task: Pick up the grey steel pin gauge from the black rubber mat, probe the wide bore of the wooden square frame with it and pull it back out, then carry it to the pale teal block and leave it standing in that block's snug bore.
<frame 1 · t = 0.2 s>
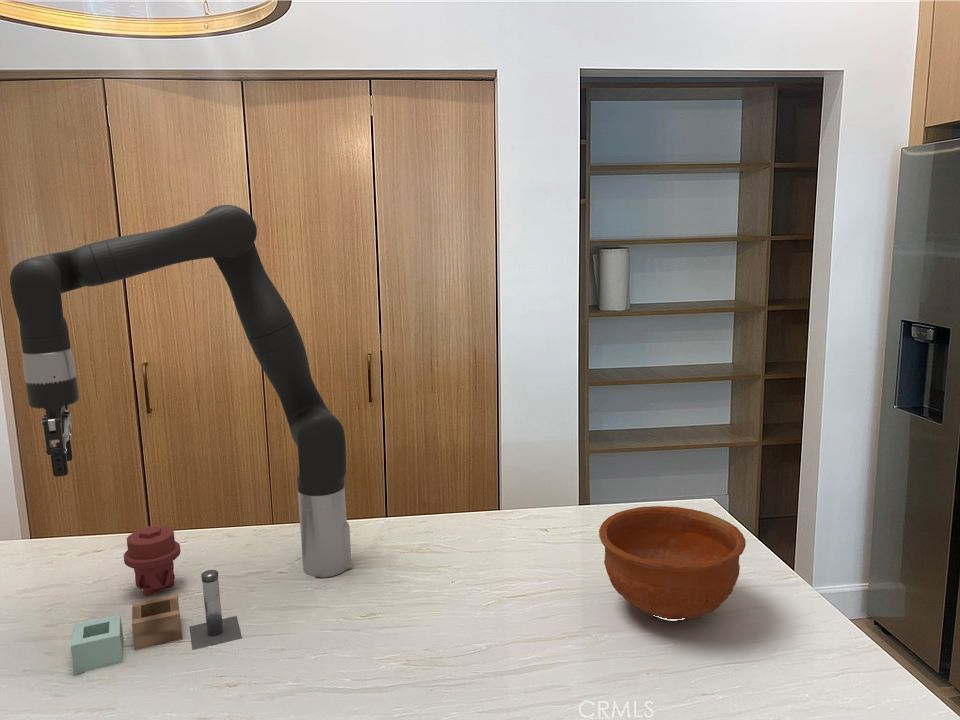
hand: (63, 467, 129), 29 cm above the counter, fingers open, 8 cm apart
teal block: (99, 657, 122), on the counter
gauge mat: (215, 633, 129), on the counter
bowl: (668, 610, 134), on the counter
wooden square frame: (158, 634, 129), on the counter
pin gauge: (215, 632, 129), resting on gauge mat
mechanical component: (156, 589, 145), on the counter
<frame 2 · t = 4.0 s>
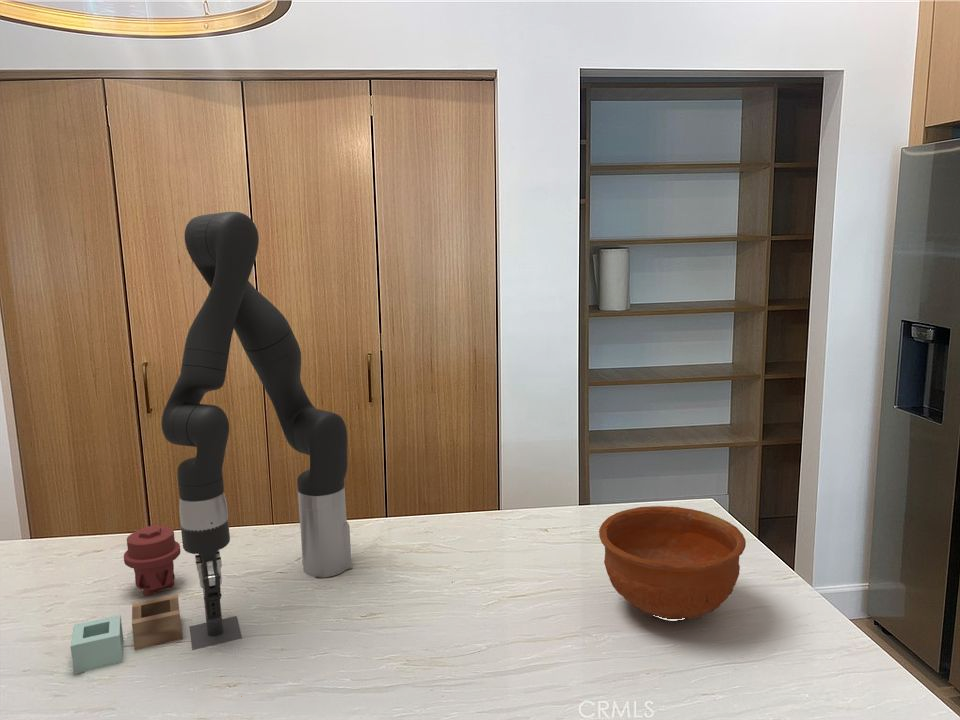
hand: (213, 613, 128), 4 cm above the counter, fingers closed on pin gauge, 2 cm apart
pin gauge: (215, 632, 129), resting on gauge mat, touching gripper
everything else where it was.
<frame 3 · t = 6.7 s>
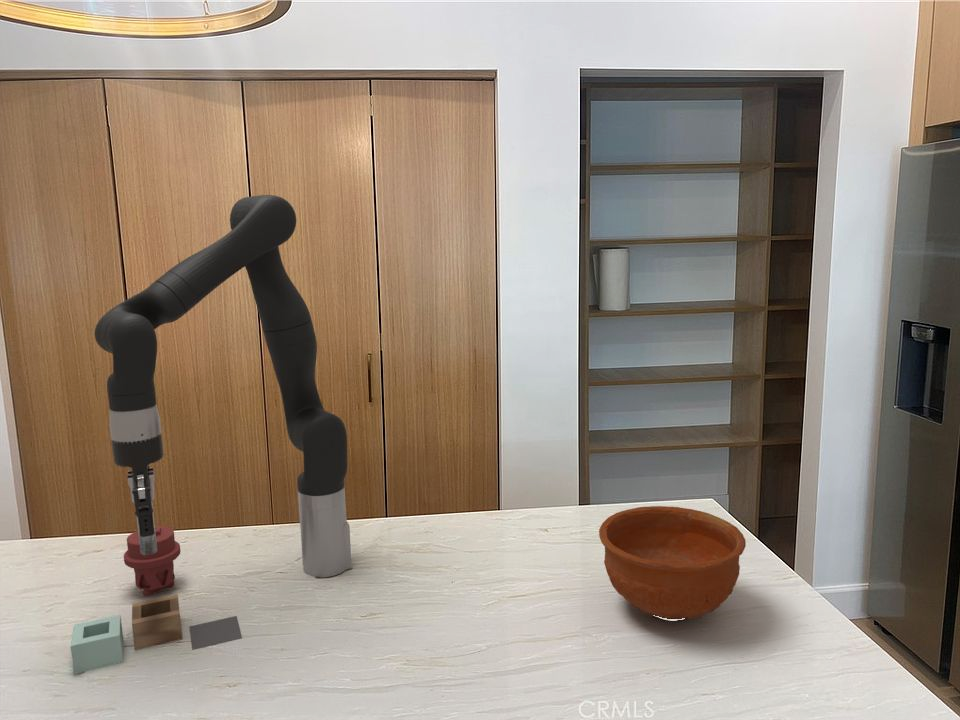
hand: (147, 531, 125), 19 cm above the counter, fingers closed on pin gauge, 2 cm apart
pin gauge: (149, 551, 126), point 16 cm above the counter, touching gripper
everything else where it was.
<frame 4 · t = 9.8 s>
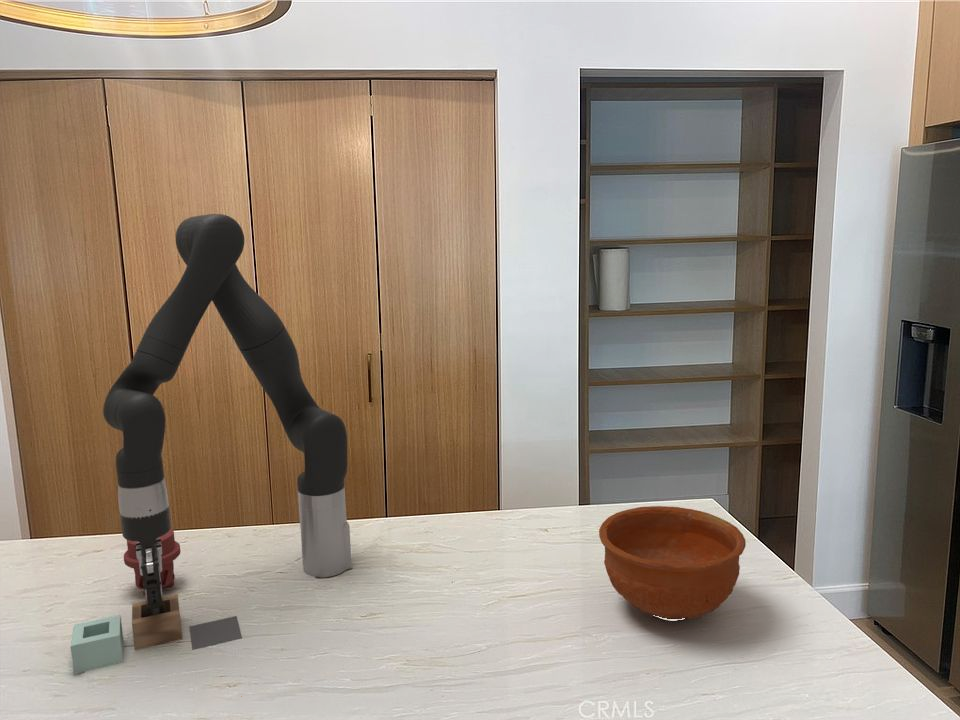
hand: (155, 601, 128), 6 cm above the counter, fingers closed on pin gauge, 2 cm apart
pin gauge: (156, 620, 128), point 3 cm above the counter, touching gripper
everything else where it was.
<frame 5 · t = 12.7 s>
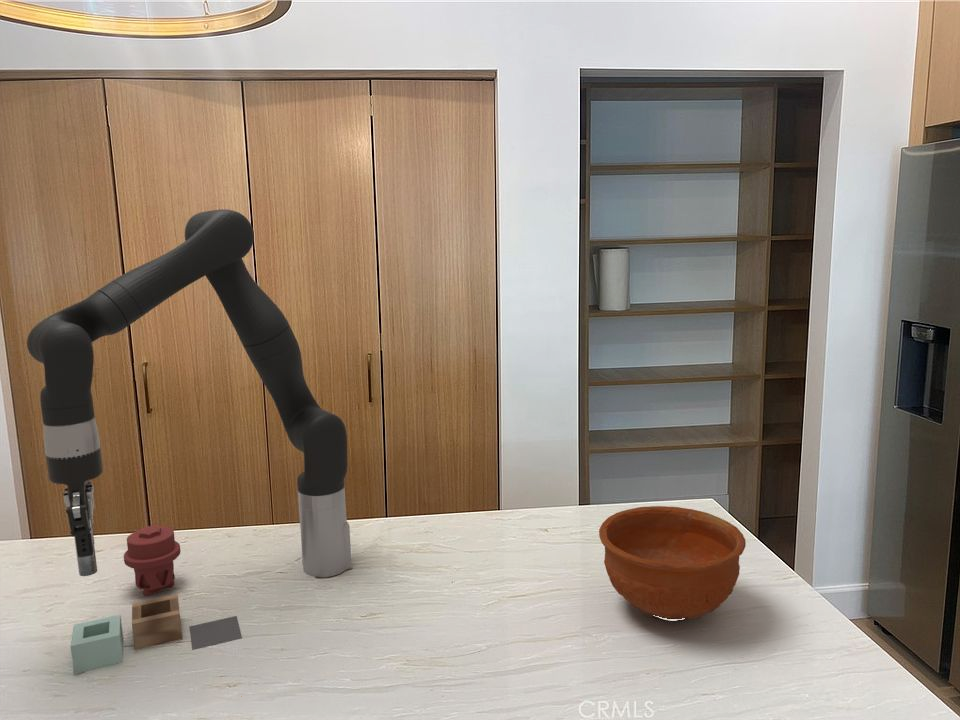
hand: (86, 551, 119), 19 cm above the counter, fingers closed on pin gauge, 2 cm apart
pin gauge: (88, 572, 119), point 15 cm above the counter, touching gripper
everything else where it was.
when the fingers open (6 cm above the counter, at t = 15.6 s): pin gauge drops 3 cm, resting in teal block.
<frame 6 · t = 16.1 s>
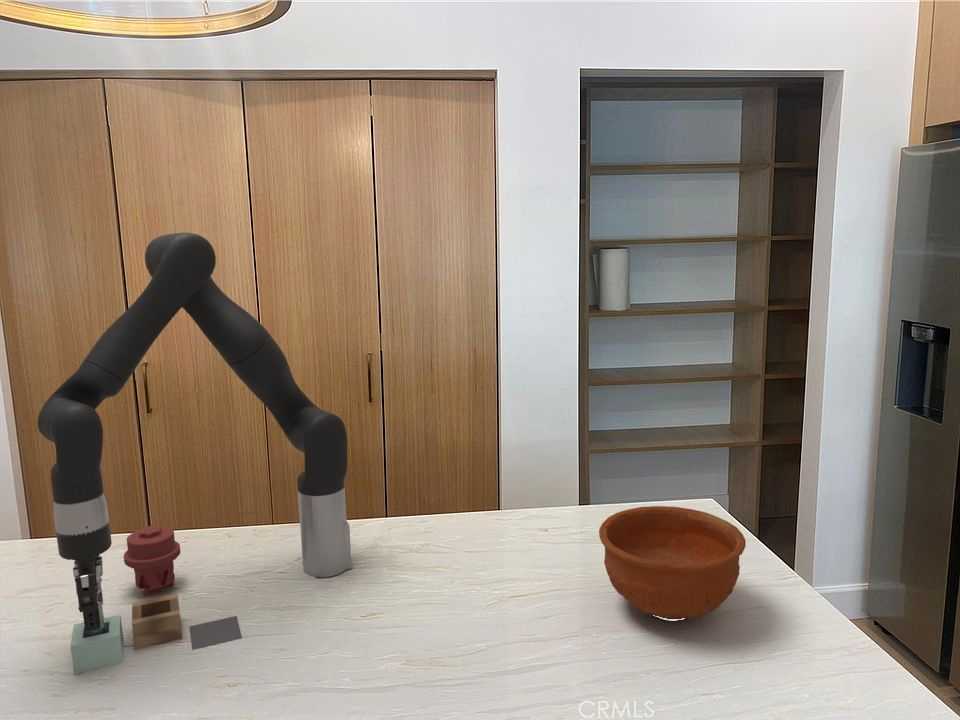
hand: (94, 617, 121), 7 cm above the counter, fingers open, 7 cm apart
pin gauge: (99, 657, 123), resting in teal block
everything else where it was.
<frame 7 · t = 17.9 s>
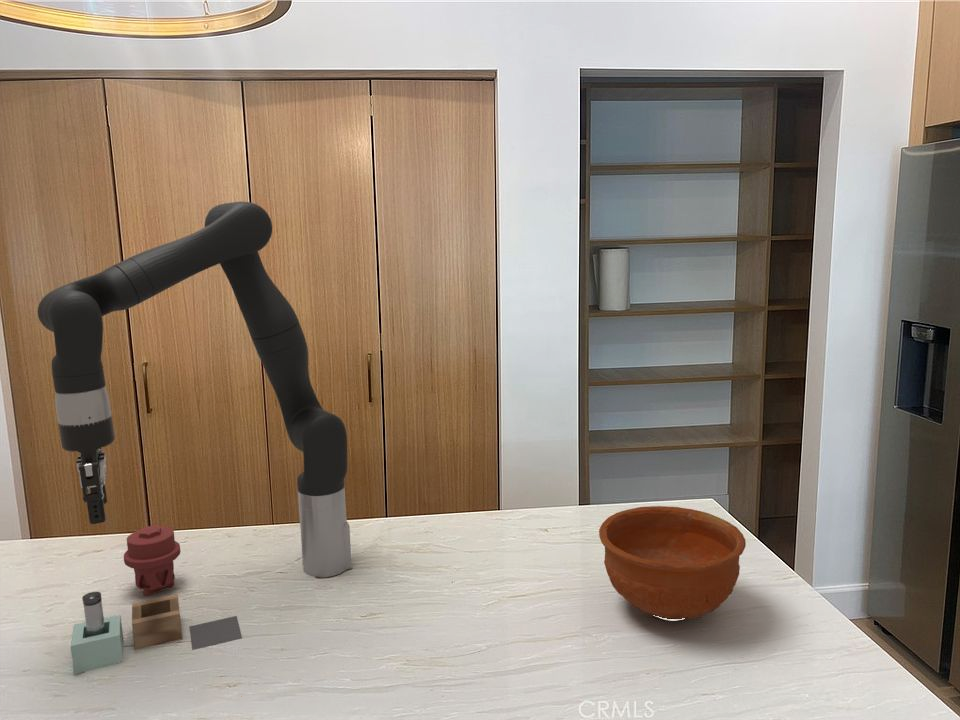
hand: (99, 512, 120), 24 cm above the counter, fingers open, 8 cm apart
nothing on the counter moved.
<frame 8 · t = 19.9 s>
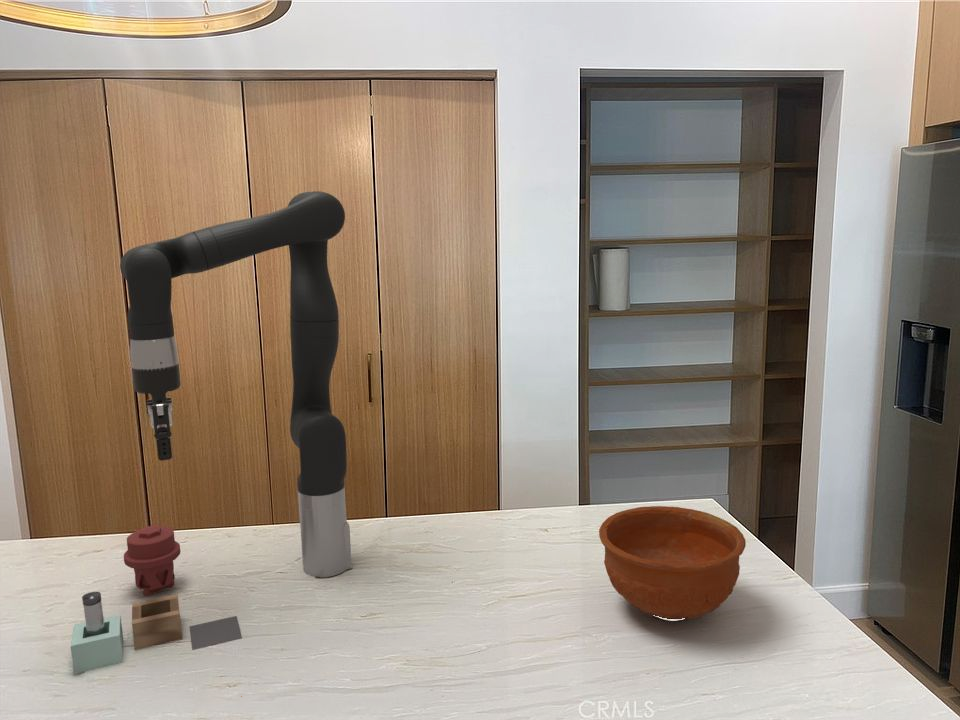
hand: (164, 452, 132), 30 cm above the counter, fingers open, 8 cm apart
nothing on the counter moved.
at the end: pin gauge 0.1 cm off-centre on the teal block, point 0.0 cm above the teal block's base; pin gauge tilted 0°; the gripper is holding nothing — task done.
